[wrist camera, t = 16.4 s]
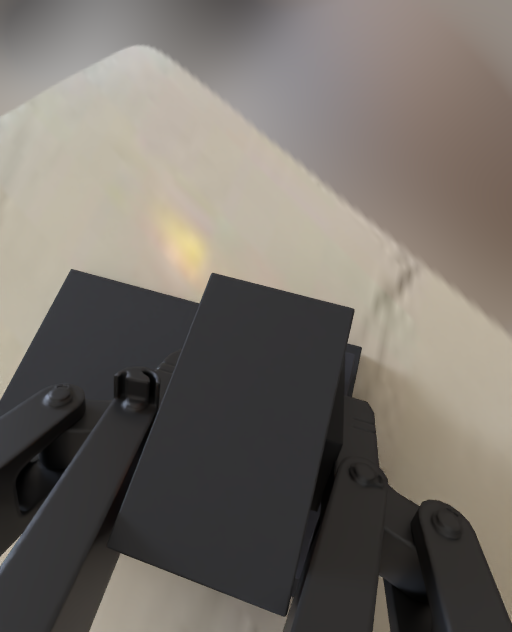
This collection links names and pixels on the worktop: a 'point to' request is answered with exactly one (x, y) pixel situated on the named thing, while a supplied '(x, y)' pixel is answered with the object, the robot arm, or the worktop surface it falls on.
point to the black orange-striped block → (238, 443)
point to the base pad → (116, 345)
